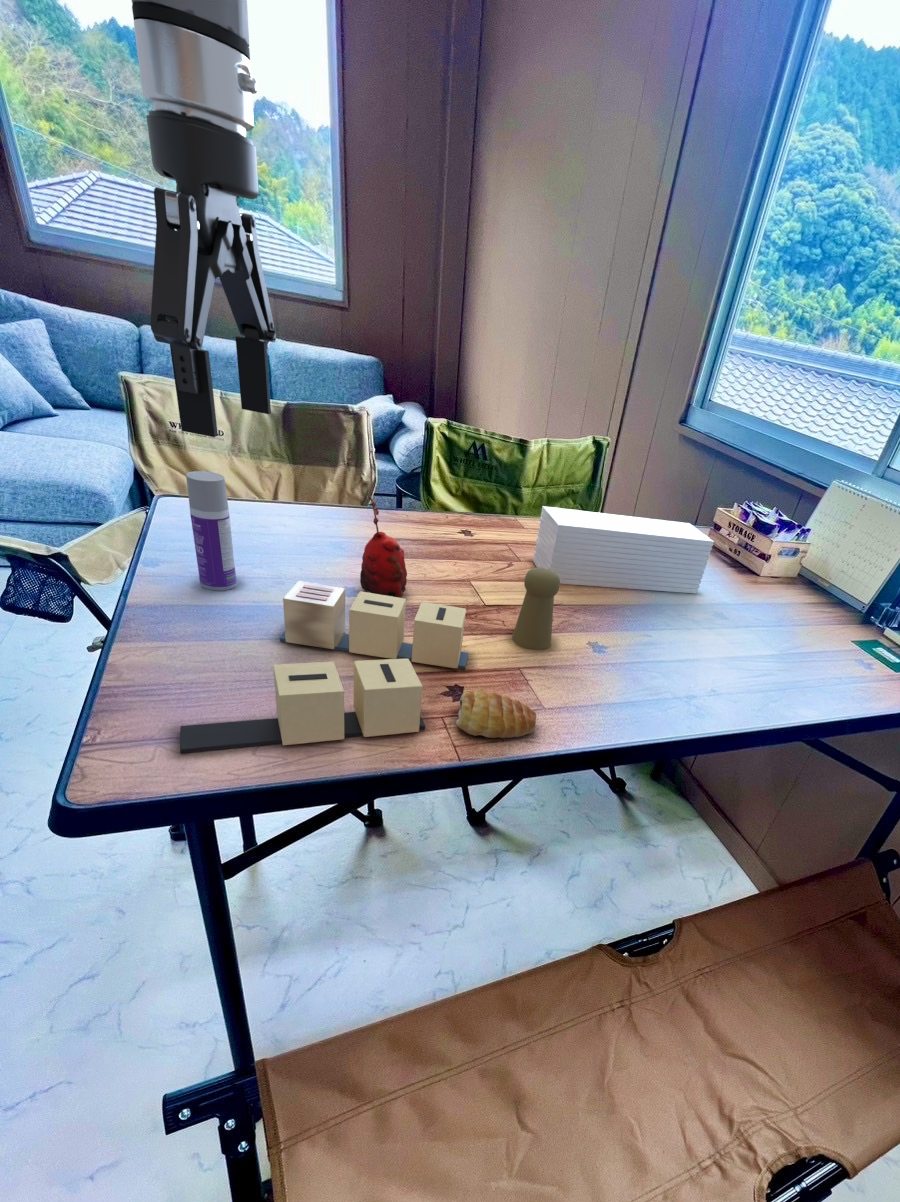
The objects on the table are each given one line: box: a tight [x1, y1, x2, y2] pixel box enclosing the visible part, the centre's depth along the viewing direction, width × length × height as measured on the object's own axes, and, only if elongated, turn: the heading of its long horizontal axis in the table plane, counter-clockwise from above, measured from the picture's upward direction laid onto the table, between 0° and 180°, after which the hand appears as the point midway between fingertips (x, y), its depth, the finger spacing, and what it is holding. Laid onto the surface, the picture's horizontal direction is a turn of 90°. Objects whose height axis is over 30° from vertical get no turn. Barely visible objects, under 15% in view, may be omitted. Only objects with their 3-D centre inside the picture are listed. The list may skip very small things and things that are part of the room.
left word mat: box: [179, 658, 426, 754], centre depth 65 cm, size 24×6×7 cm, turn 114°
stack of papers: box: [532, 505, 715, 594], centre depth 121 cm, size 32×11×11 cm, turn 106°
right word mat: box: [279, 590, 469, 670], centre depth 81 cm, size 24×6×7 cm, turn 91°
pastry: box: [455, 688, 537, 739], centre depth 73 cm, size 9×7×4 cm
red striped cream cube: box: [282, 580, 346, 650], centre depth 80 cm, size 6×6×6 cm
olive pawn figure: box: [511, 567, 561, 651], centre depth 91 cm, size 6×6×11 cm
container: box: [185, 470, 237, 591], centre depth 85 cm, size 5×5×15 cm
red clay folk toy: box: [359, 494, 408, 598], centre depth 94 cm, size 8×7×15 cm
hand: (230, 421), depth 60 cm, fingers open, 13 cm apart
